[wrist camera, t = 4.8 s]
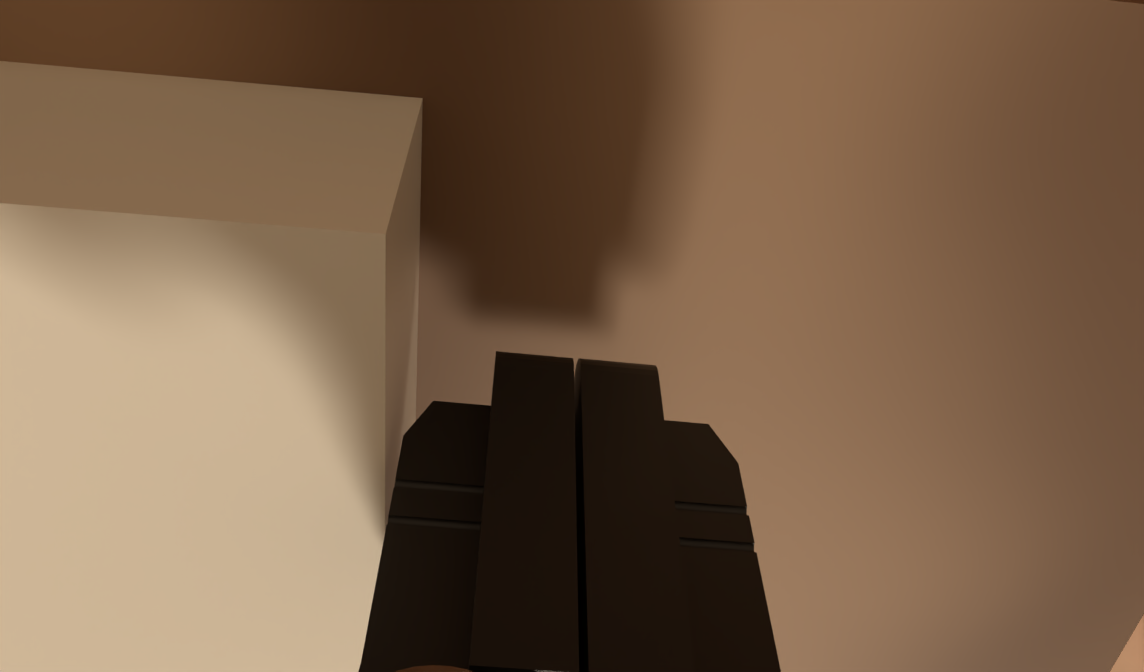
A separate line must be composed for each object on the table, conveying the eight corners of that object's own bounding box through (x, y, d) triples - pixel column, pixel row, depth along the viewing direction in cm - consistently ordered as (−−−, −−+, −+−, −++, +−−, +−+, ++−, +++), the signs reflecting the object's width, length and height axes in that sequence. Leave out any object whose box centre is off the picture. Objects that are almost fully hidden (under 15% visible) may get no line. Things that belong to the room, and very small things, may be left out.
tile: (421, 98, 10) (385, 233, 8) (411, 571, 13) (384, 755, 11) (-278, 36, 9) (-516, 161, 7) (-105, 539, 13) (-234, 723, 11)
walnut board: (1202, -95, 14) (1482, 40, 10) (845, 769, 24) (905, 1019, 20) (-124, -250, 13) (-458, -173, 8) (90, 725, 23) (-16, 979, 18)
